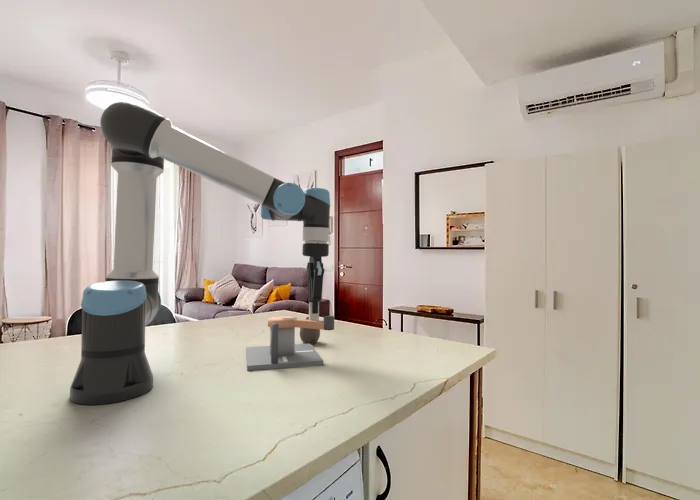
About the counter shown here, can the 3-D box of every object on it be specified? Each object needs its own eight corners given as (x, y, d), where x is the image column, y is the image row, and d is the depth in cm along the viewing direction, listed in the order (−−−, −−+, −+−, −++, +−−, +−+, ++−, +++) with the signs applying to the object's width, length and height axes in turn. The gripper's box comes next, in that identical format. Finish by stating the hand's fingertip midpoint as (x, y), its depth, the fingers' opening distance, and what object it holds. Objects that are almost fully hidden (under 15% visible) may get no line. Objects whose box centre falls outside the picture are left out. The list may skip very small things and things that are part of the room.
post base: (323, 364, 102) (323, 322, 102) (247, 370, 97) (247, 325, 97) (310, 347, 122) (310, 311, 122) (245, 351, 116) (246, 313, 116)
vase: (318, 345, 124) (319, 319, 124) (298, 345, 124) (298, 318, 124) (320, 340, 131) (321, 315, 131) (301, 340, 131) (301, 315, 131)
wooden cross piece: (262, 326, 107) (262, 314, 107) (277, 322, 115) (277, 310, 115) (328, 332, 100) (328, 319, 100) (339, 326, 108) (339, 314, 108)
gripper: (334, 243, 103) (331, 328, 104) (323, 242, 115) (321, 319, 116) (307, 242, 101) (304, 329, 101) (299, 242, 113) (297, 320, 114)
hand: (313, 324), depth 109 cm, fingers closed
